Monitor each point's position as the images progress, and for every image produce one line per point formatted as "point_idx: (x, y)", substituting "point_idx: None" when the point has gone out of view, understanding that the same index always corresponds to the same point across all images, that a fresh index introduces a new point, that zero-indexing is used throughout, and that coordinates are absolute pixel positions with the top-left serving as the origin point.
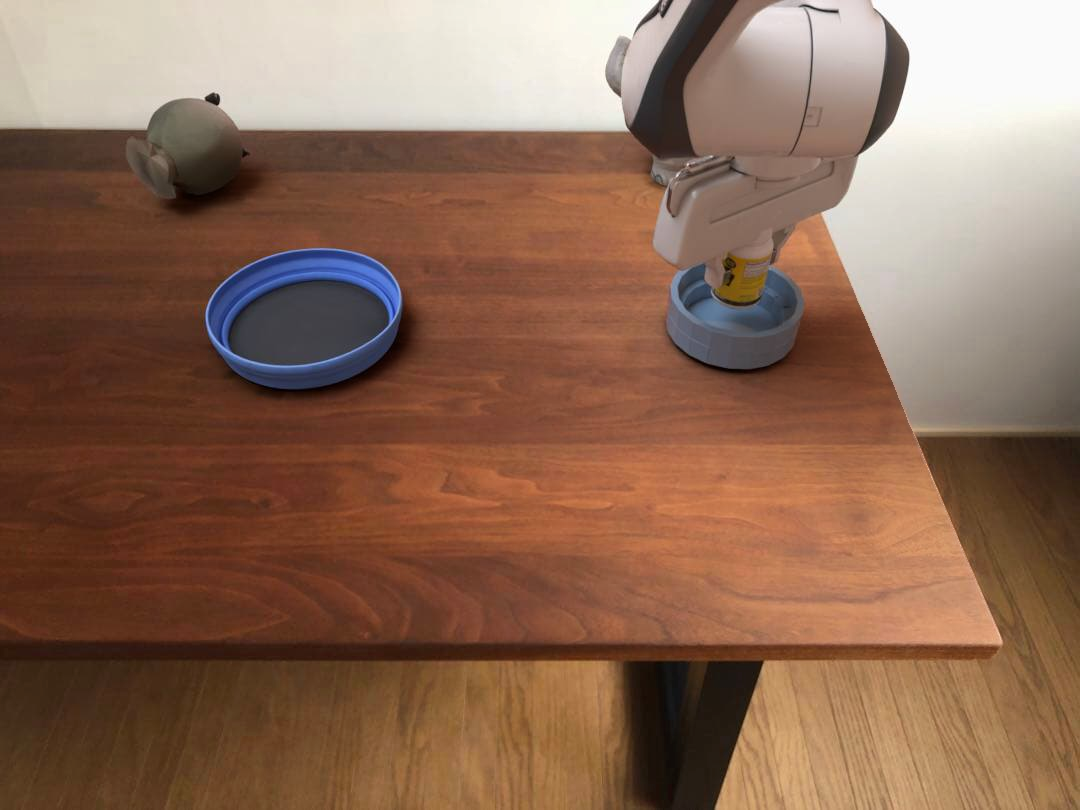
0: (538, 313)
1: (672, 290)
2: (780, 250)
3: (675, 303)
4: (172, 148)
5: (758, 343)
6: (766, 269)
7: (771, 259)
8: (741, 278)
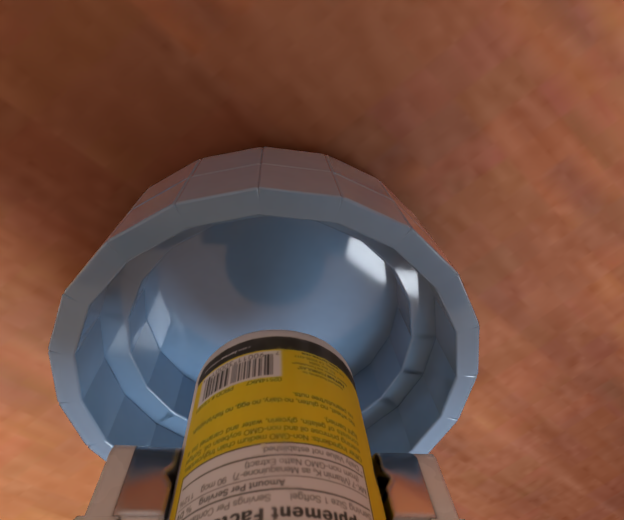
0: (497, 500)
1: None
2: (91, 503)
3: (438, 441)
4: None
5: (391, 210)
6: (251, 455)
7: (151, 474)
8: (361, 459)
